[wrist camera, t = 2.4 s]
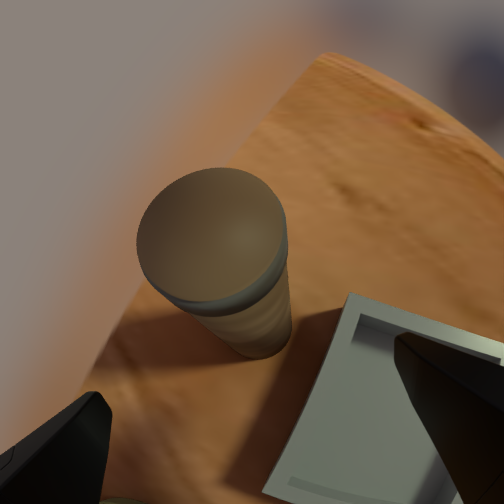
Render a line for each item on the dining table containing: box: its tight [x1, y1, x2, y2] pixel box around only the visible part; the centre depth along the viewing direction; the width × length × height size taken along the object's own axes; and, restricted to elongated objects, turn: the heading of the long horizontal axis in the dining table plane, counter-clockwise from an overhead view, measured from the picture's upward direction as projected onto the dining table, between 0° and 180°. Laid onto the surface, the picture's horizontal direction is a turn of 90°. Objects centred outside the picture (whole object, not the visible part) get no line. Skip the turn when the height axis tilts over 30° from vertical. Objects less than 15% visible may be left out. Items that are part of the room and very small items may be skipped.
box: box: [262, 292, 504, 504], centre depth 14 cm, size 12×12×3 cm
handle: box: [136, 168, 292, 359], centre depth 14 cm, size 5×5×12 cm
